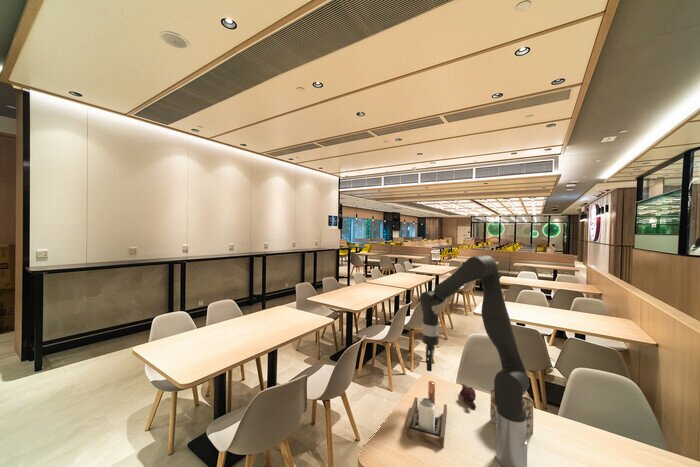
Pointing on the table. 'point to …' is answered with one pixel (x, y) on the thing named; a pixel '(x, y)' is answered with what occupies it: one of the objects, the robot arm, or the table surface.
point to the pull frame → (437, 420)
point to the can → (427, 414)
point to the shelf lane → (421, 435)
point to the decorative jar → (526, 404)
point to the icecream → (468, 395)
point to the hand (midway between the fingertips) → (430, 366)
